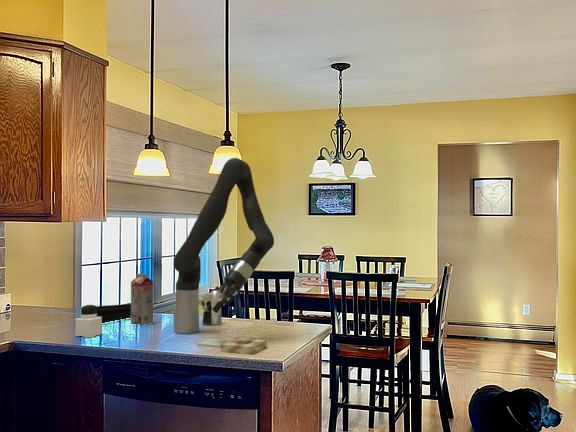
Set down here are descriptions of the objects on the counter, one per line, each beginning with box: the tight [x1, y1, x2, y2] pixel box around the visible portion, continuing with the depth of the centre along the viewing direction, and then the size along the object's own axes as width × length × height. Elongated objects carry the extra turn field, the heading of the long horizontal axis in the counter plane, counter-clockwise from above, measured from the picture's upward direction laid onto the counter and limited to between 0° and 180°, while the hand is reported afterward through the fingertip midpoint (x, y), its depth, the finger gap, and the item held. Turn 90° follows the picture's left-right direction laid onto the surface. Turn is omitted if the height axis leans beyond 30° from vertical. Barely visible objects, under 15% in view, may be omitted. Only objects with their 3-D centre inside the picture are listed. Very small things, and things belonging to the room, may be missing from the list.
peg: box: [210, 290, 222, 326], centre depth 212 cm, size 4×4×12 cm
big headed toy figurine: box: [199, 293, 214, 326], centre depth 252 cm, size 11×7×13 cm, turn 66°
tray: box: [96, 303, 131, 323], centre depth 267 cm, size 30×23×5 cm
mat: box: [196, 338, 231, 348], centre depth 212 cm, size 10×10×1 cm
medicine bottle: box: [75, 304, 103, 338], centre depth 228 cm, size 7×7×12 cm
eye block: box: [220, 337, 268, 355], centre depth 202 cm, size 12×12×2 cm
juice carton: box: [130, 273, 154, 325], centre depth 253 cm, size 7×7×22 cm
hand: (211, 310), depth 211 cm, fingers closed on peg, 3 cm apart
